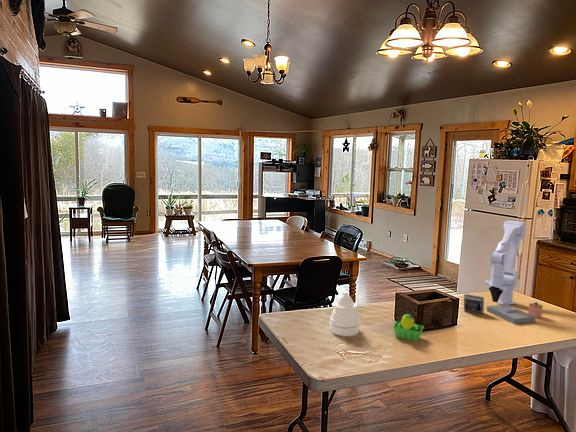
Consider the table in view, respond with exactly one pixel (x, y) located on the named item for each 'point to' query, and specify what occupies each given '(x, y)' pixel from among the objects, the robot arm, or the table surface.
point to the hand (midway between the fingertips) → (495, 301)
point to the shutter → (506, 307)
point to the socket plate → (511, 315)
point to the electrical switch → (473, 303)
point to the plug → (535, 309)
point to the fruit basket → (407, 328)
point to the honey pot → (344, 317)
